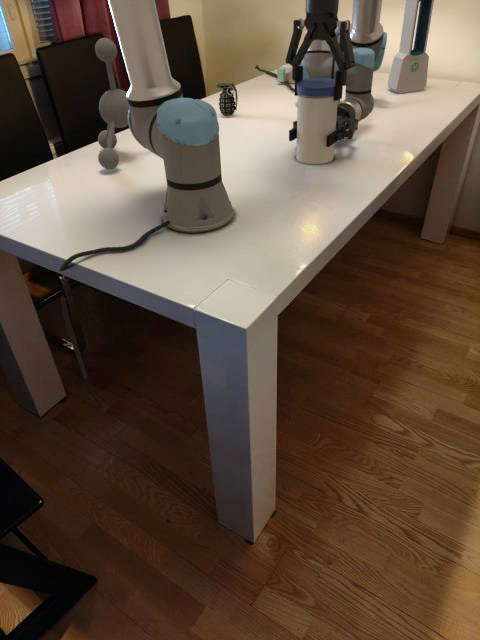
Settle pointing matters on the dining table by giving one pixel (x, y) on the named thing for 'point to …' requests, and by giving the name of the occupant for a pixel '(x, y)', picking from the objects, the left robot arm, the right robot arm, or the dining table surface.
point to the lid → (316, 87)
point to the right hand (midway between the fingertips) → (308, 138)
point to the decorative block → (285, 73)
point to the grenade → (227, 99)
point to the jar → (315, 128)
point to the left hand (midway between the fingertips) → (317, 96)
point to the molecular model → (110, 107)
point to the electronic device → (407, 62)
